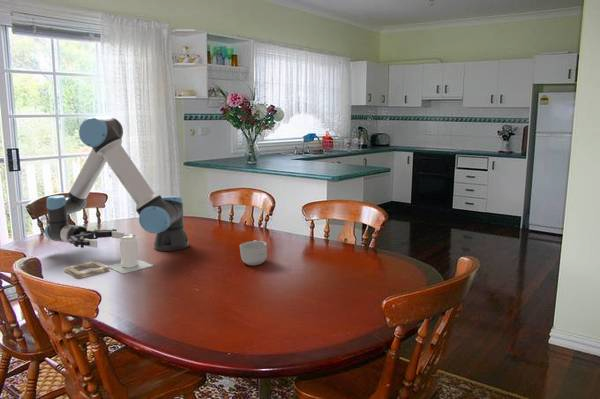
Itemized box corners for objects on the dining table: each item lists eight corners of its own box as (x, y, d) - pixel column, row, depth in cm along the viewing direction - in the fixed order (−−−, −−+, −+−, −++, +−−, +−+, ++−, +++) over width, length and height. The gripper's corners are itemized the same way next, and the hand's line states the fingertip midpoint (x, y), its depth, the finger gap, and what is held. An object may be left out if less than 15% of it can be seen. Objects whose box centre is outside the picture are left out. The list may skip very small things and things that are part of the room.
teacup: (263, 268, 193) (262, 248, 192) (236, 266, 195) (235, 246, 194) (272, 257, 207) (271, 239, 205) (247, 256, 209) (246, 237, 207)
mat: (137, 259, 205) (136, 258, 205) (153, 266, 196) (153, 265, 196) (106, 266, 196) (106, 266, 196) (122, 274, 187) (122, 273, 187)
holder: (95, 264, 199) (95, 260, 199) (109, 270, 191) (109, 267, 191) (64, 271, 190) (64, 267, 190) (78, 278, 182) (77, 274, 182)
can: (142, 264, 198) (140, 235, 195) (130, 269, 192) (128, 238, 190) (129, 262, 200) (127, 233, 198) (117, 267, 194) (115, 237, 192)
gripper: (100, 236, 220) (134, 241, 210) (48, 250, 199) (85, 257, 189) (98, 219, 219) (133, 224, 209) (46, 232, 197) (83, 237, 187)
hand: (110, 239), depth 199 cm, fingers open, 13 cm apart
